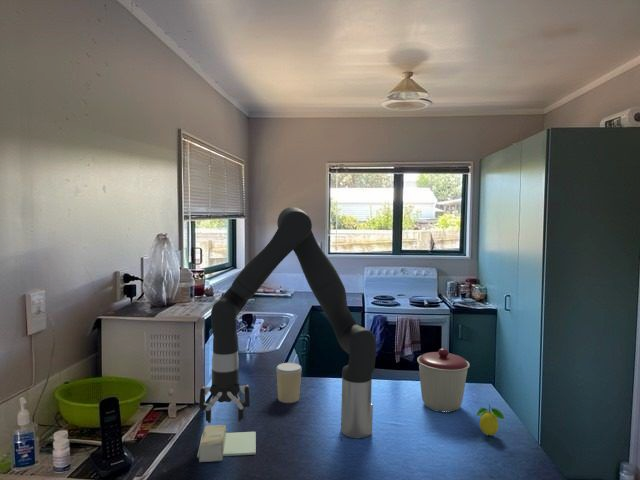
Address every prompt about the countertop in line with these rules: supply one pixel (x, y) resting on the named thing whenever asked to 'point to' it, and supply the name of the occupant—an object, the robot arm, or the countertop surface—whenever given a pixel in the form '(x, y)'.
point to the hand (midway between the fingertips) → (224, 421)
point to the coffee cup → (288, 382)
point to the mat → (239, 444)
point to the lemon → (489, 420)
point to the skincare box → (212, 443)
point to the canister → (442, 379)
